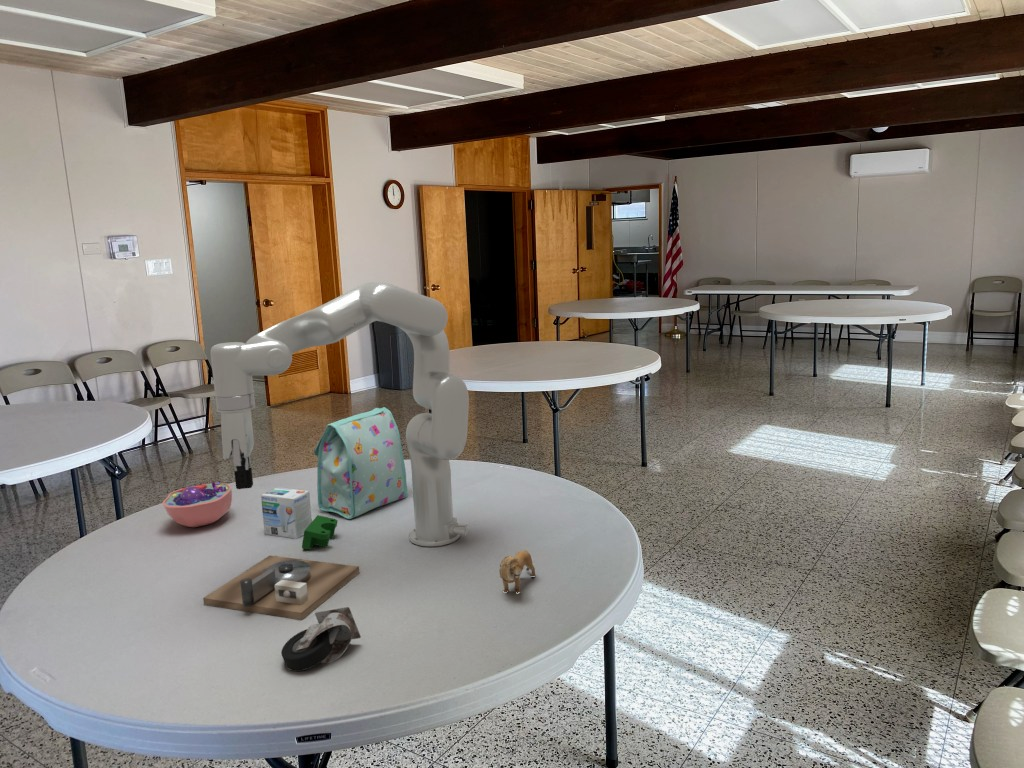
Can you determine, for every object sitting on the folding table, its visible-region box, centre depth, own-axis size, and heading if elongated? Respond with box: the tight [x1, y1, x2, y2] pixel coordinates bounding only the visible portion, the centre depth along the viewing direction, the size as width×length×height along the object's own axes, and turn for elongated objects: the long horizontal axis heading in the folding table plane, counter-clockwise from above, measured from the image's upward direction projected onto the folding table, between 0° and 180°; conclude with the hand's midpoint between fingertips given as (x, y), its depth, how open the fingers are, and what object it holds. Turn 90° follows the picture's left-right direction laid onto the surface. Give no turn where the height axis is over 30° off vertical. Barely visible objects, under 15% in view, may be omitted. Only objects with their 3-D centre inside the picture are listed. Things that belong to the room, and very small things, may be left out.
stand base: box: [202, 555, 360, 621], centre depth 160 cm, size 24×22×5 cm
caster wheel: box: [281, 606, 362, 672], centre depth 132 cm, size 7×12×10 cm
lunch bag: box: [313, 406, 408, 520], centre depth 209 cm, size 23×16×27 cm
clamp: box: [301, 514, 338, 551], centre depth 185 cm, size 11×6×8 cm, turn 171°
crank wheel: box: [240, 560, 311, 607], centre depth 157 cm, size 19×10×5 cm, turn 160°
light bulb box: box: [260, 487, 313, 540], centre depth 192 cm, size 11×7×11 cm, turn 68°
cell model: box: [162, 481, 233, 528], centre depth 201 cm, size 17×20×11 cm
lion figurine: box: [499, 550, 536, 593], centre depth 157 cm, size 15×5×9 cm, turn 164°
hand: (244, 487), depth 156 cm, fingers closed
